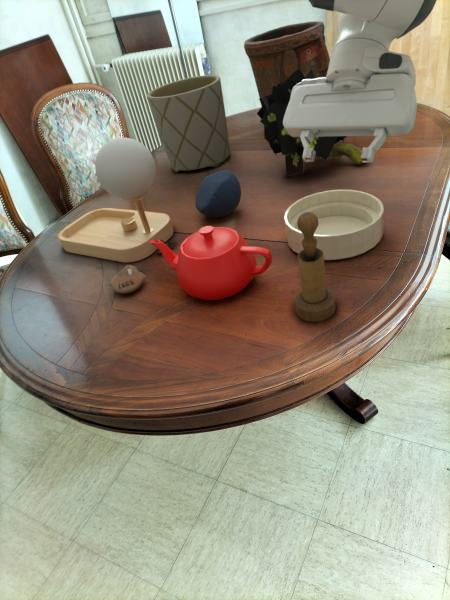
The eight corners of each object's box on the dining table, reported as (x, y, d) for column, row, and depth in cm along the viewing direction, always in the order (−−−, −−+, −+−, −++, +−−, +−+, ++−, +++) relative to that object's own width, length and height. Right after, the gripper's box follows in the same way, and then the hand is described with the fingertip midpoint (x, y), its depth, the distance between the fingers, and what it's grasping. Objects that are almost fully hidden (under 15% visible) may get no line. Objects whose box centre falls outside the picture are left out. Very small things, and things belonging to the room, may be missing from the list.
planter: (239, 144, 145) (225, 70, 131) (228, 170, 128) (211, 88, 114) (178, 153, 151) (159, 83, 137) (159, 179, 134) (135, 102, 120)
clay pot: (306, 147, 130) (297, 36, 112) (242, 138, 150) (226, 43, 131) (354, 119, 141) (353, 15, 123) (289, 115, 161) (279, 23, 143)
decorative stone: (230, 199, 112) (222, 162, 106) (253, 212, 103) (246, 174, 97) (191, 215, 109) (181, 179, 103) (212, 231, 100) (203, 192, 94)
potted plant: (365, 153, 121) (311, 57, 113) (380, 160, 100) (315, 43, 93) (301, 195, 128) (246, 107, 121) (302, 209, 107) (237, 104, 100)
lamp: (56, 250, 109) (6, 155, 94) (101, 218, 120) (63, 128, 104) (151, 268, 92) (109, 156, 77) (193, 228, 103) (164, 123, 87)
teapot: (287, 262, 83) (280, 207, 76) (264, 314, 72) (253, 255, 65) (178, 258, 93) (162, 209, 86) (144, 302, 82) (123, 250, 75)
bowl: (380, 211, 91) (381, 185, 88) (385, 261, 77) (386, 233, 73) (292, 217, 97) (289, 193, 93) (282, 264, 83) (278, 238, 79)
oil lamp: (159, 280, 89) (134, 273, 94) (155, 263, 87) (129, 257, 92) (128, 300, 83) (103, 292, 88) (123, 283, 81) (97, 275, 86)
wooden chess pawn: (311, 327, 67) (300, 230, 56) (288, 308, 72) (275, 215, 61) (343, 310, 69) (340, 212, 58) (319, 292, 74) (311, 199, 63)
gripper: (287, 69, 68) (268, 152, 68) (422, 54, 57) (400, 152, 57) (301, 90, 73) (283, 167, 73) (427, 80, 63) (406, 170, 63)
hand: (336, 160), depth 65 cm, fingers open, 8 cm apart
